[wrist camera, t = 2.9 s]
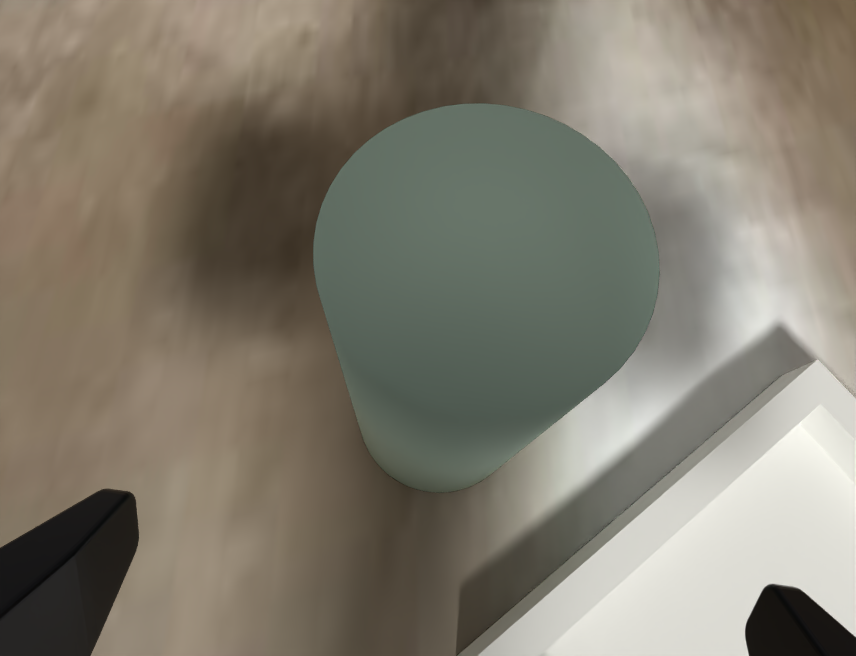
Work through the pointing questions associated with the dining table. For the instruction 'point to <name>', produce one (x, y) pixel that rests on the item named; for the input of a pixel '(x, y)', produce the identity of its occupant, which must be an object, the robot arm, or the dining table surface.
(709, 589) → the tray
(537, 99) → the dining table surface
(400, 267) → the grey-green post
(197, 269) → the dining table surface
